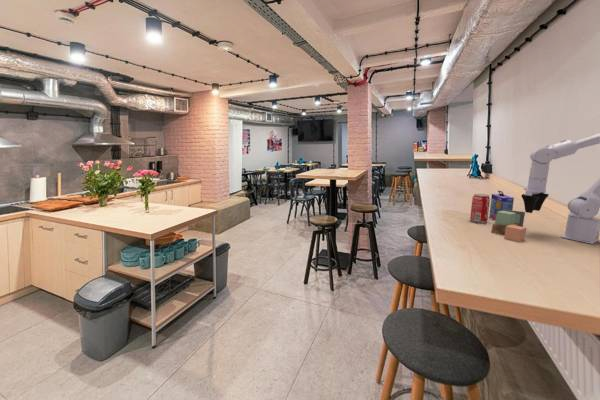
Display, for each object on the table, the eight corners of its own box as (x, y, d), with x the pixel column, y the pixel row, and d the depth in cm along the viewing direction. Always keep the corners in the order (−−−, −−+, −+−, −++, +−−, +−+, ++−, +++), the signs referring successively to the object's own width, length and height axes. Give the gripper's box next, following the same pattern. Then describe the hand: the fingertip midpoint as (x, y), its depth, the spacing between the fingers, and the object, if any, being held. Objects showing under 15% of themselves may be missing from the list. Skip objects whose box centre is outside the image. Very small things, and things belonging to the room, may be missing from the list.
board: (500, 224, 134) (503, 208, 133) (522, 227, 129) (525, 211, 128) (499, 226, 131) (502, 210, 129) (522, 230, 126) (524, 213, 124)
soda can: (487, 224, 135) (491, 196, 132) (469, 222, 138) (472, 195, 136) (487, 220, 141) (490, 194, 138) (469, 218, 144) (473, 193, 142)
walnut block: (516, 233, 122) (517, 224, 121) (511, 237, 117) (512, 227, 116) (496, 230, 127) (497, 221, 126) (491, 233, 122) (492, 223, 122)
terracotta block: (524, 240, 113) (526, 227, 112) (518, 242, 110) (520, 229, 109) (509, 236, 117) (511, 224, 116) (504, 238, 114) (505, 226, 113)
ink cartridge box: (487, 217, 148) (491, 189, 145) (499, 217, 147) (503, 189, 145) (498, 222, 138) (503, 192, 135) (511, 222, 138) (515, 192, 135)
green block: (514, 224, 121) (516, 212, 120) (508, 226, 118) (510, 214, 117) (500, 221, 125) (502, 210, 124) (495, 223, 122) (497, 211, 121)
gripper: (533, 176, 124) (528, 207, 127) (518, 178, 116) (513, 211, 119) (554, 178, 118) (548, 210, 121) (540, 180, 110) (534, 215, 113)
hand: (532, 211), depth 119 cm, fingers open, 7 cm apart
